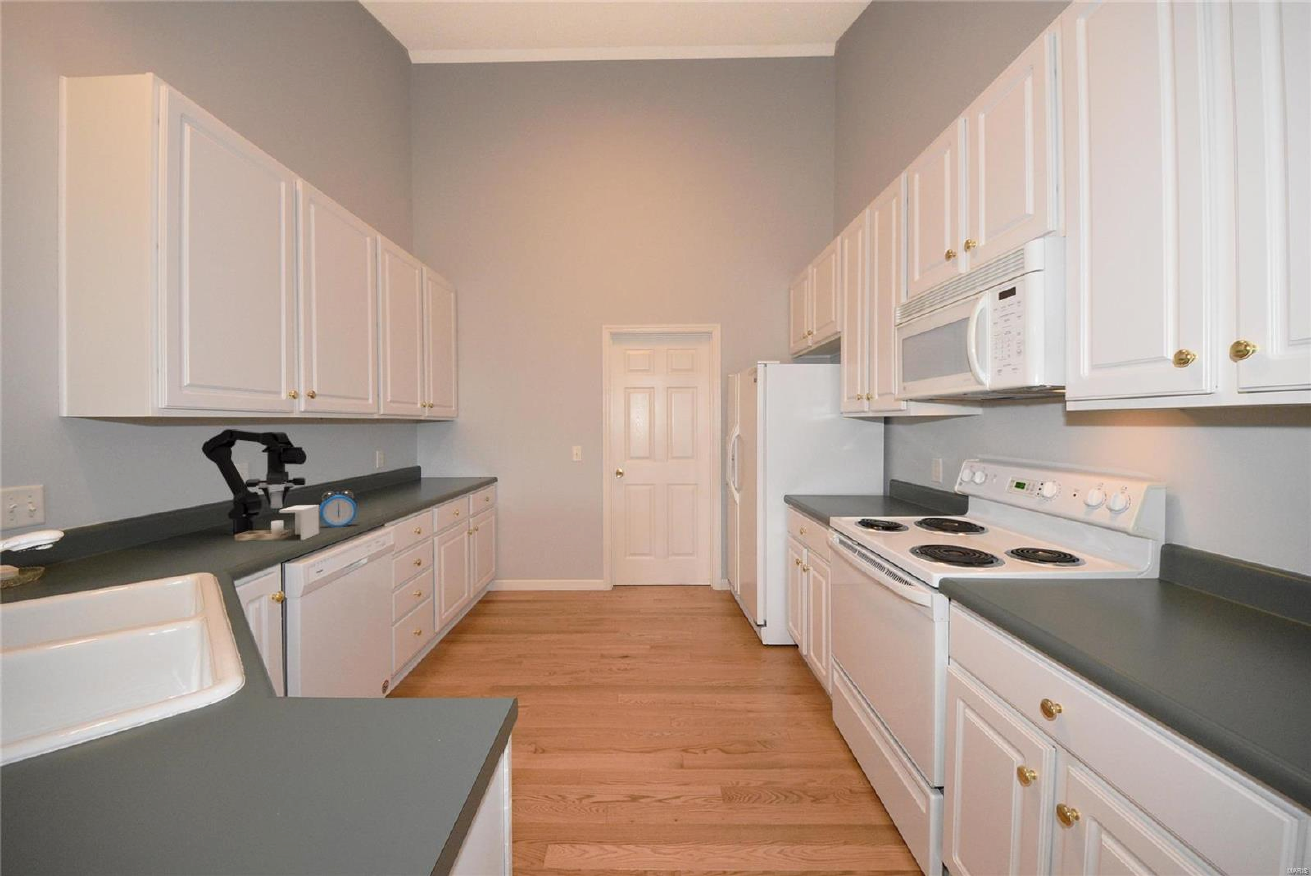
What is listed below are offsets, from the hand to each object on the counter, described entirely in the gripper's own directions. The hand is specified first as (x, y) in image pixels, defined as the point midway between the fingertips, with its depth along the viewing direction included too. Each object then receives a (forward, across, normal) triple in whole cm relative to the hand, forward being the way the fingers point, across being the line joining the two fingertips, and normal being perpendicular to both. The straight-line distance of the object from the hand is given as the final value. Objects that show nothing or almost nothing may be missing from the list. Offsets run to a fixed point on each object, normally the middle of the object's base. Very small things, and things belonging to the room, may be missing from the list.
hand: (276, 504), depth 207 cm
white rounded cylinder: (+11, +1, -11) cm, 16 cm away
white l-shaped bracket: (+11, +8, -14) cm, 20 cm away
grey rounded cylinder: (+1, 0, 0) cm, 1 cm away
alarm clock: (+12, +20, +6) cm, 24 cm away
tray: (+11, -3, -10) cm, 15 cm away
